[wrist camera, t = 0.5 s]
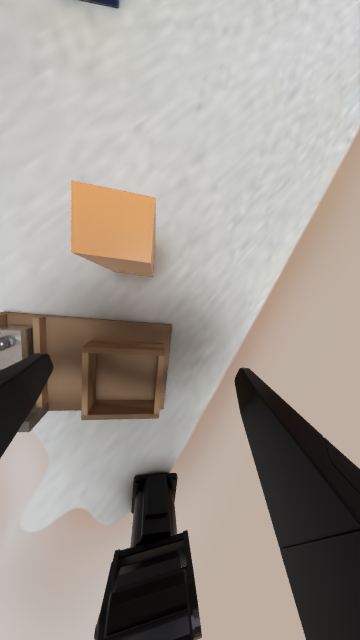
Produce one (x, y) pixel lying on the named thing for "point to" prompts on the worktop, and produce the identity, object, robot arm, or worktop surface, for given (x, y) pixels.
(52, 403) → the housing
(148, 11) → the worktop surface
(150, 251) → the block
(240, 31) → the worktop surface
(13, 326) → the bolt
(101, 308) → the worktop surface
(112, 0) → the supplement box
